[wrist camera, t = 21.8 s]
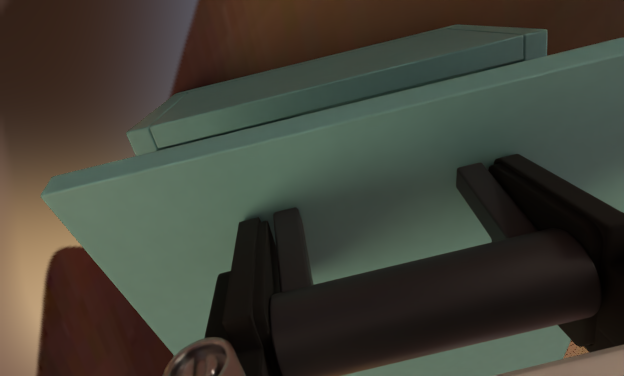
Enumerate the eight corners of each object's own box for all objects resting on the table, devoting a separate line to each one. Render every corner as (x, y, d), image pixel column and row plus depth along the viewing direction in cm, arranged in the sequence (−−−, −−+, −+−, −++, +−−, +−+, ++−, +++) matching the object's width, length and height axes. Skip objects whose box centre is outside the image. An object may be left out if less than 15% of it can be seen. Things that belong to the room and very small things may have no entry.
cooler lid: (51, 175, 10) (-81, 385, 6) (676, 23, 10) (989, 130, 6) (257, 439, 22) (261, 569, 18) (541, 372, 21) (611, 489, 17)
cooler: (174, 93, 22) (124, 132, 14) (456, 24, 21) (548, 28, 14) (262, 333, 29) (258, 439, 22) (474, 283, 29) (541, 373, 21)
